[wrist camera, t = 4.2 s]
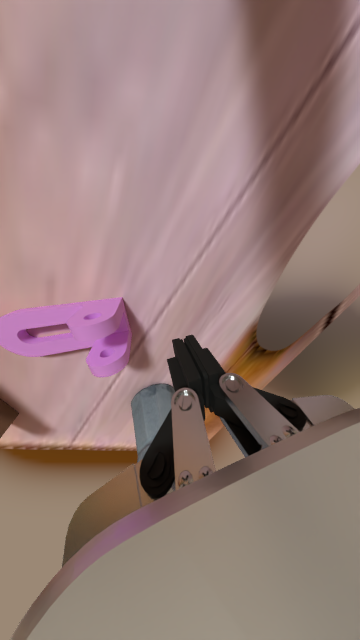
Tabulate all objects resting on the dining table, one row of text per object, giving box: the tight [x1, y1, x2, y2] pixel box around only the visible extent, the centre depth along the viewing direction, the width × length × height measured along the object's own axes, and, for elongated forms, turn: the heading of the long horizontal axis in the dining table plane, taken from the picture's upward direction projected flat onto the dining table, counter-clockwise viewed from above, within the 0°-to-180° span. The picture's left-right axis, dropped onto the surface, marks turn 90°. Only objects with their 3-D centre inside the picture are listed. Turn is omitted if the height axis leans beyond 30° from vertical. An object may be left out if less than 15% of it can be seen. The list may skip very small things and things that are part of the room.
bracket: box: [0, 297, 132, 377], centre depth 13 cm, size 13×6×7 cm, turn 93°
